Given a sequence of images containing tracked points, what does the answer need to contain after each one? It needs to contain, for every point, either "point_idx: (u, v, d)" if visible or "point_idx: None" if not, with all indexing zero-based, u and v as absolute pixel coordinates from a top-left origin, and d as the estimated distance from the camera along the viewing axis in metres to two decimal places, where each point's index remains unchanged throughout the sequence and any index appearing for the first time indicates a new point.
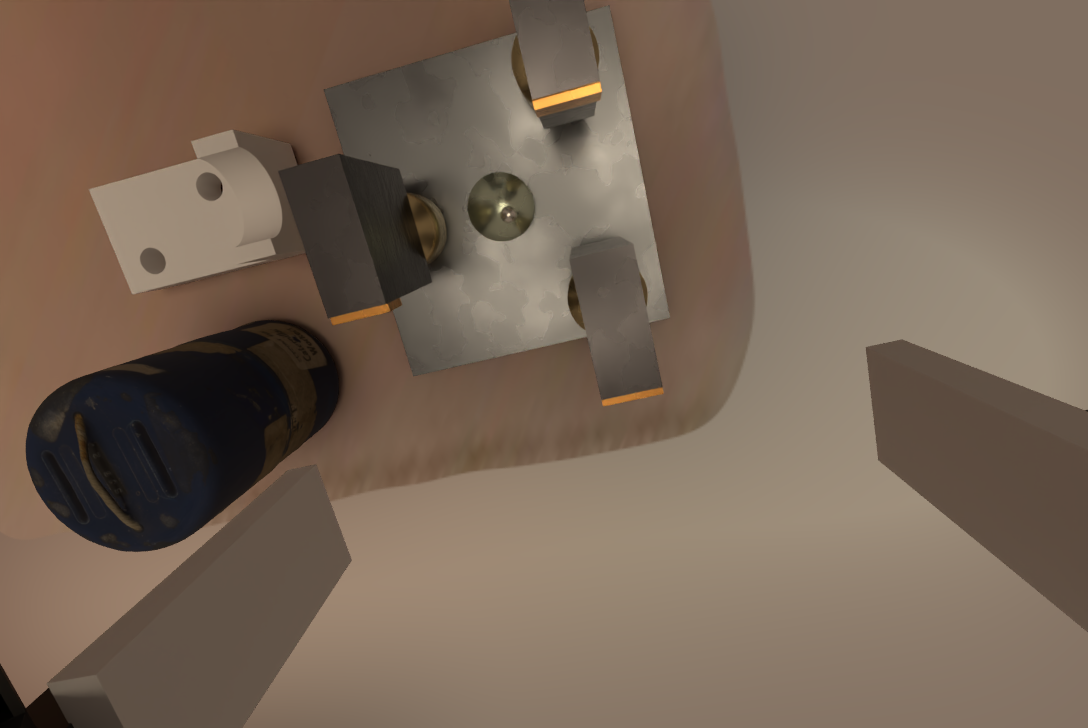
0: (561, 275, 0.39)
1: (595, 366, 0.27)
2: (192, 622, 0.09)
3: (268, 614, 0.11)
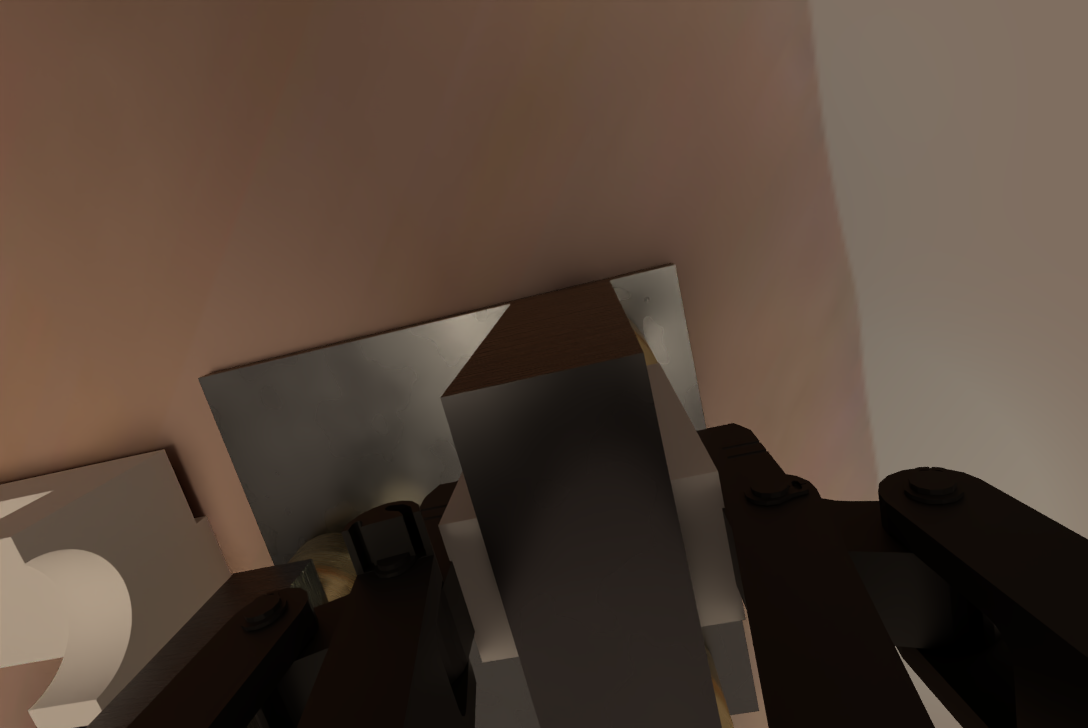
0: None
1: None
2: None
3: None
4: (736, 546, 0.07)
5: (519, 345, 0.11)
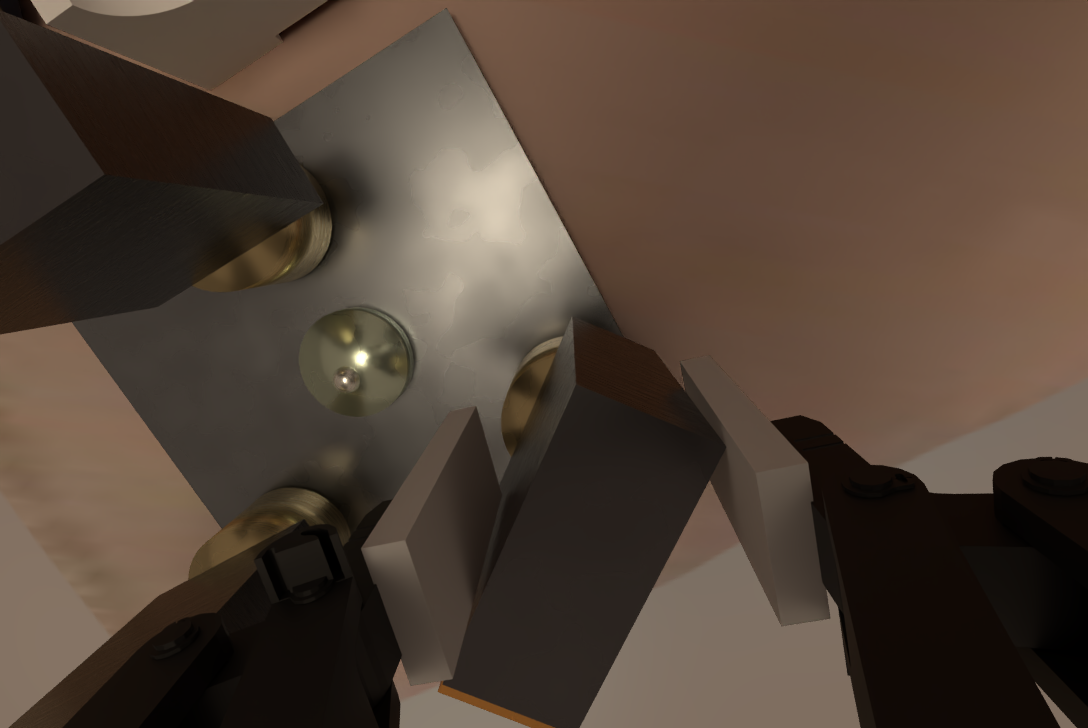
0: (295, 471, 0.25)
1: None
2: (438, 516, 0.11)
3: (470, 524, 0.12)
4: (833, 537, 0.07)
5: (612, 372, 0.13)
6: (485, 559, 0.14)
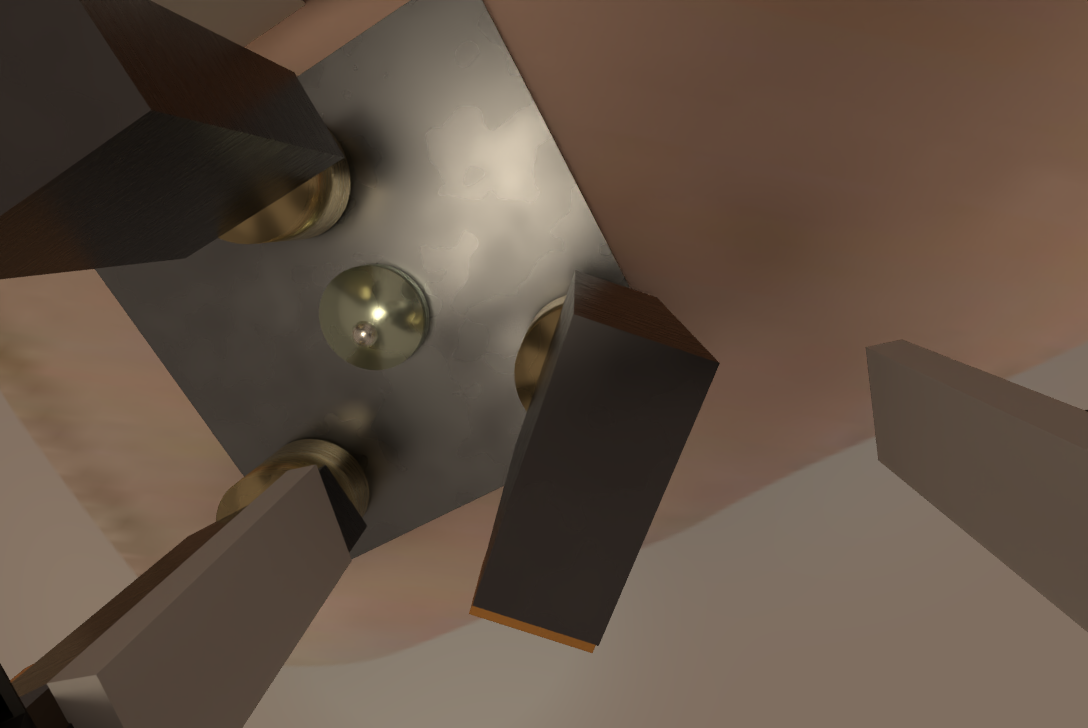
0: (315, 423, 0.26)
1: None
2: (192, 622, 0.09)
3: (268, 614, 0.11)
4: None
5: (611, 308, 0.13)
6: (505, 496, 0.15)
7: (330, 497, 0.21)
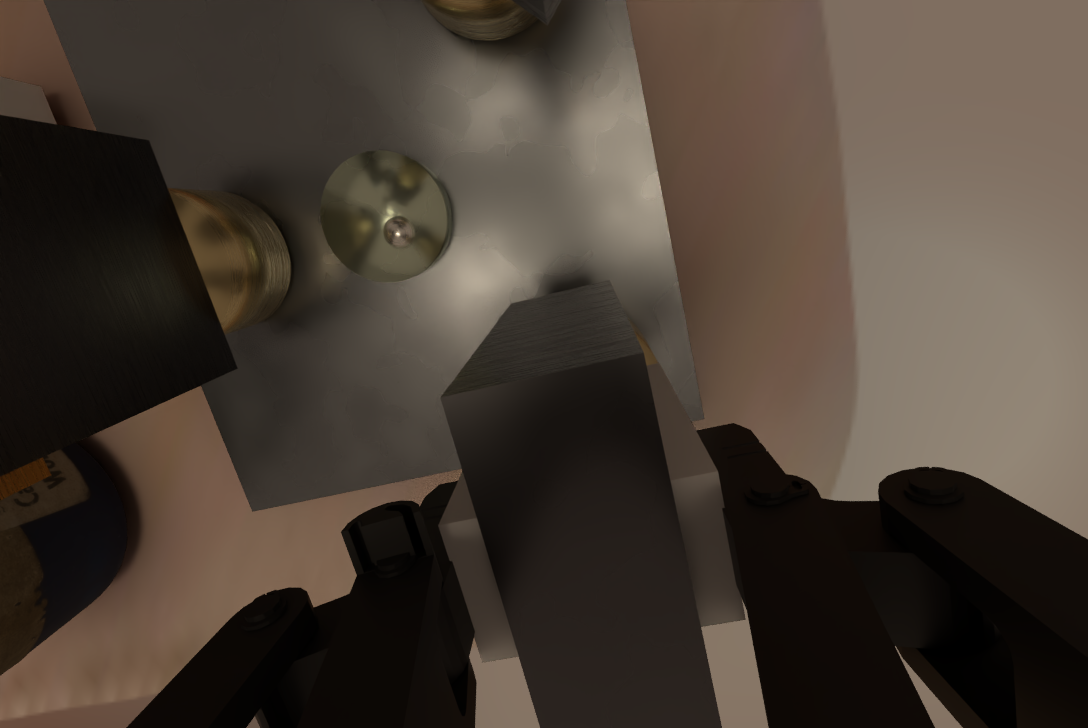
0: None
1: (532, 687, 0.10)
2: None
3: None
4: (736, 546, 0.07)
5: None
6: None
7: (542, 299, 0.16)
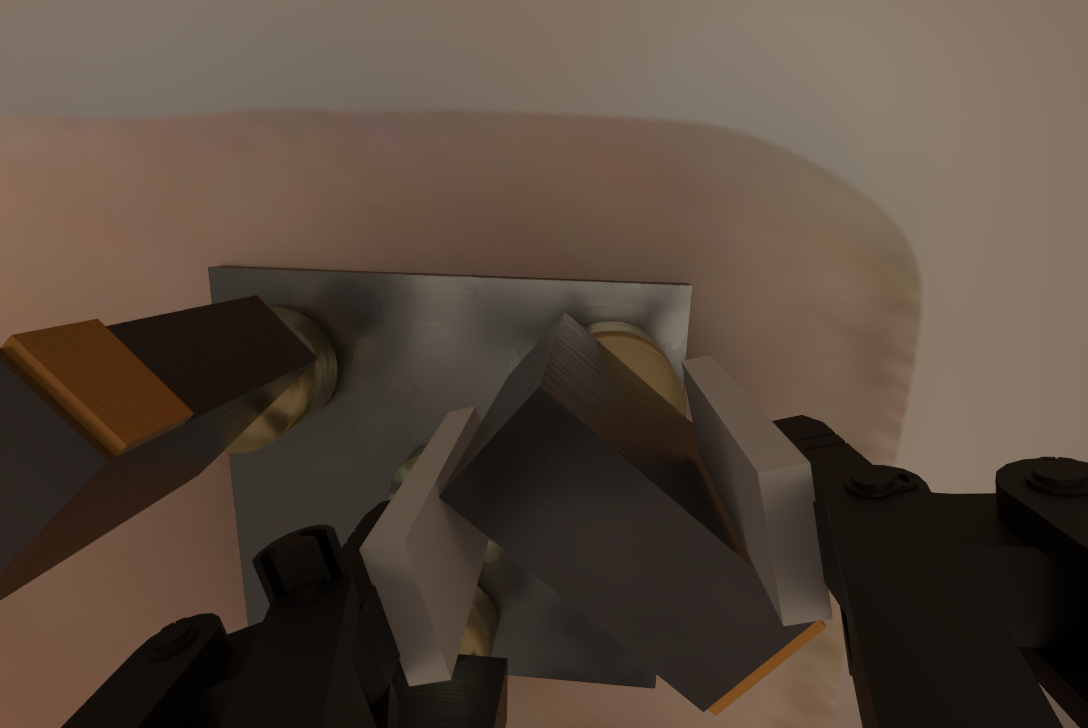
0: None
1: (643, 658, 0.11)
2: (437, 517, 0.11)
3: (469, 525, 0.12)
4: (836, 537, 0.07)
5: None
6: (149, 460, 0.14)
7: (523, 360, 0.18)
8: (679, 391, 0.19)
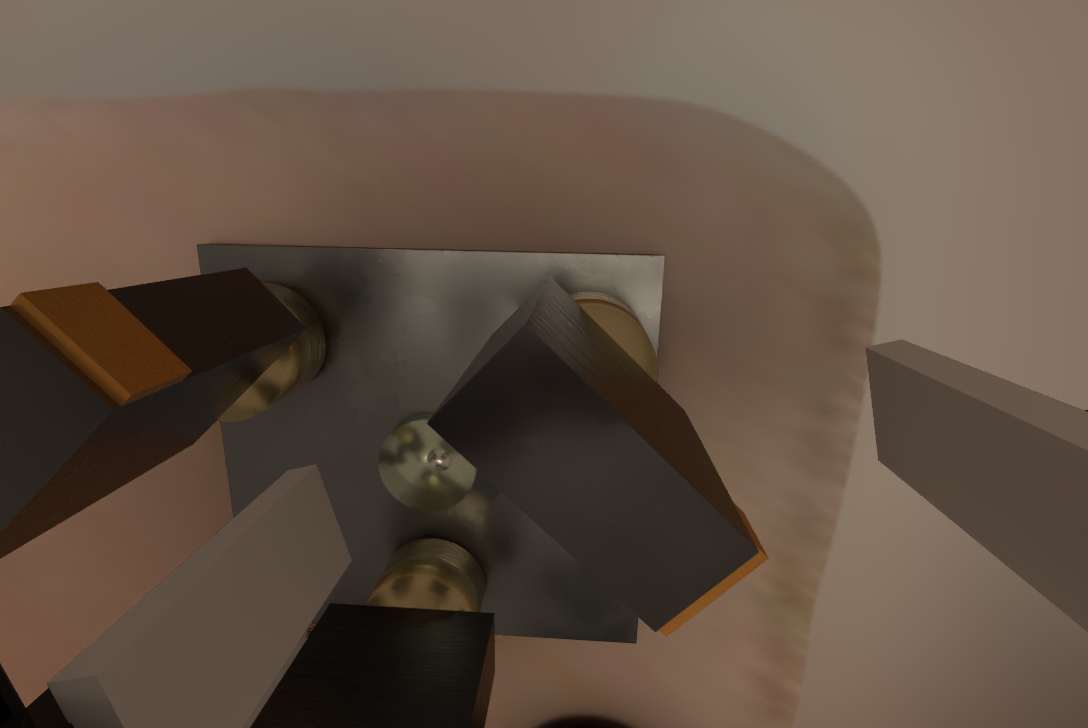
0: None
1: (604, 581, 0.13)
2: (192, 622, 0.09)
3: (268, 614, 0.11)
4: None
5: None
6: (150, 417, 0.15)
7: (508, 319, 0.19)
8: (653, 358, 0.20)
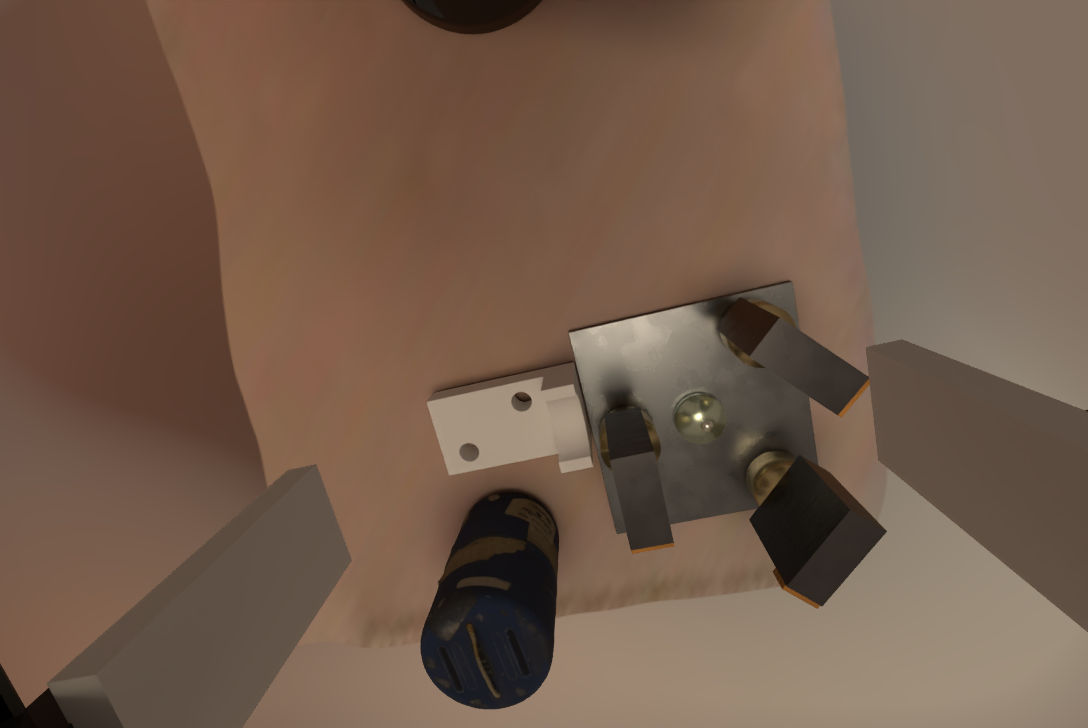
0: (740, 464, 0.51)
1: (802, 568, 0.39)
2: (192, 622, 0.09)
3: (268, 614, 0.11)
4: None
5: (747, 336, 0.38)
6: None
7: (814, 465, 0.46)
8: None
